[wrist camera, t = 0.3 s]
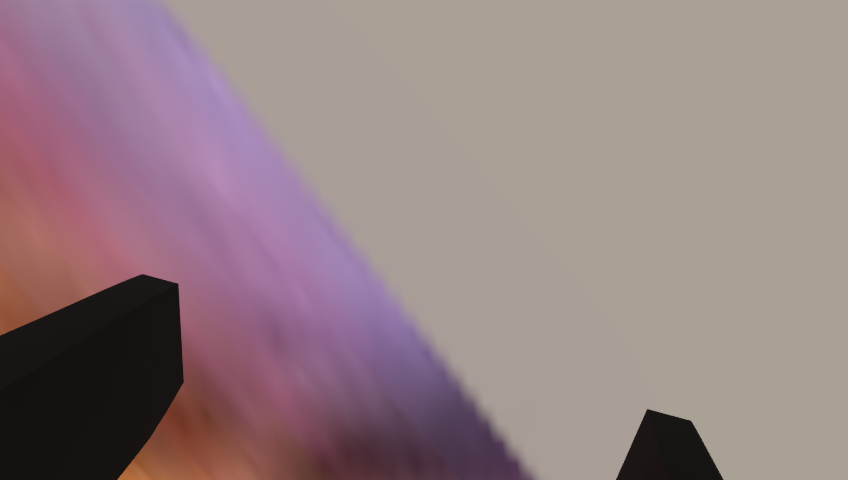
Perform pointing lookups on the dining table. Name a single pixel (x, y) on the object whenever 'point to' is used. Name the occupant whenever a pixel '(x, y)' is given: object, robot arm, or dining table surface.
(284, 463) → the dining table surface
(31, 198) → the dining table surface
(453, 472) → the dining table surface
